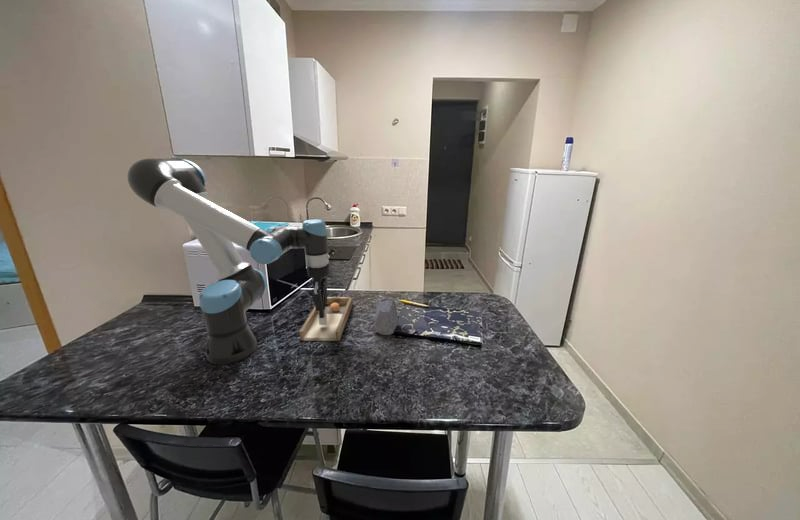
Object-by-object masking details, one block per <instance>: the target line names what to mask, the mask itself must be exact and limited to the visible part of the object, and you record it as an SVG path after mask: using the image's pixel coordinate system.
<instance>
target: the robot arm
mask: <svg viewBox="0 0 800 520" xmlns="http://www.w3.org/2000/svg"><path fill="white" fill-rule="evenodd" d="M127 182H128V185H129V187H130V189H131V190H132V192H133V193H134V194H135V195H136V196H137V197H138V198H139V199H141V200H143V201H144V202H145V203H148V204H150V205H151V206H153V207H156V208H157V209H159V210H166V209H167V210H169V211H171V212H173V213H175V214H177V215H179V216H180V217H183V219H184V221H185V222H186V224H187V225H188V227H189V228H190V230H191V231H192V233H193V235H194V236H195V238H196V239H197V241H198V243H199V244H200V246H202V249H203V250H204V252H205V253H206V255H207V256H208V258H209V260H210V261H211V262H212V265H213V266H214V267H215V269H216V270H217V272H218V275H217V281H216V282H212V283H210V284H208V285H207V286H205V287H204V288H203V289H201V290H200V292H199V296H198V297H199V298H198V301H199V307H200V309H201V314H202V317H203V322H204V325H205V329H206V334H207V340H206V345H205V350H204V351H205V353H204V354H205V356H206V360H207V362H209V363H210V364H213V365H221V366H222V365H229V364H233V363H236V362H240V361H241V360H244V359H245V358H247V357H249V356H250V355H252V354H253V353H254V352H255V351H256V350H257V348H258V342H257V338H256V335H254V333H253V331H252V329H251V328H250V327H249V325H248V321H247V315H246V312H247V311H248V310H249V309H251V307H252V306H253V305H254V304H255V303H256V302H258V301H259V300H261V298H262V297H263V295H264V294H265V293H266V291H267V287H268V281H267V277H266V276H265V275H264V273H263V272H262V271H261V270H260V269H259V270H258V269H257V268H253V266H252V265H251V263H250V262H247V261H244V260H243V258H242V256H241V255H240V253H239V251H238V250H237V249H236V247H235V245H236V246H239V247H240V248H243V249H245V250H247V251H248V252H249V254H250V257H251V258H252V259H253V260H254V262H256V263H258V264H260V265H268V264H271V263H273V262H275V261H277V260H278V259H279V258H280V257H281V256H282V255H284V254H285V253H287V252H288V251H289V250H291V249H304V251H305V260H306V261H305V262H306V265H307V266H306V271H307V276H308V277H309V278H311V279H313V281H312V287H313V288H312V289H311V294H312V296H313V301H314V307H315V308H316V309H315V310H316V311H318V316H319V325H327V311H326V307H328V304H326V303H327V297H328V276H329V275H330V271H331V270H330V264H329V262H330V261H329V259H330V258H331V256H330V254H329V250H328V232H327V227H326V221H324V220H322V219H315V218H313V219H306V220H304V221H303V222H302V224H301V225H300V226H299V225H298V226H297V225H295V226H292V225H291V226H289V225H288V226H287V225H285V226H284V225H277V226H269V227H268V228H267V231H266V230H265V229H262V228H260V226H259V227H258V226H257V225H255V224H253V223H251V222H250V221H247V220H246V219H244V218H242V217H240V216H238V215H236V214H234V213H233V212H230V211H229V210H226V209H225V208H223V207H221V206H219V205H218V204H215V203H214V202H212V201H210V200H208V199H207V196H208V193H209V192H208V191H207V190H206V188H205V187H206V182H207V179H206V175H205V173H204V171H203V170H202V169H201V167H200V166H198V165H197V164H196V163H194V162H193V161H191V160H188V159H184V158H179V157H171V158H144V159H140V160H138V161H136V162H135V163H133V164H132V165H131V166H130V167H129V169H128V173H127ZM234 244H235V245H234Z"/></svg>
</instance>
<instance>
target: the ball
mask: <svg viewBox="0 0 800 520" xmlns="http://www.w3.org/2000/svg"><path fill="white" fill-rule="evenodd" d="M339 309H340V306H339V304H338V303H332V304H331V305H330V310H331V311H332V312H338V311H339Z"/></svg>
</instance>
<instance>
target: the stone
mask: <svg viewBox="0 0 800 520" xmlns="http://www.w3.org/2000/svg"><path fill="white" fill-rule="evenodd" d="M397 311H398V310H397V305H396V302H395V301H394V299H392V298H387V299H386V298H385V299H381V300H379V301H377V302H376V308H375V316H374V325H373V328H374V332H375V333H377V334H379V335H382V336H391V335H392V334H394V333H395V331H396V329H397V327H398V325H399V317H398V312H397ZM396 326H397V327H396ZM394 330H395V331H394Z"/></svg>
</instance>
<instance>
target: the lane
mask: <svg viewBox="0 0 800 520" xmlns="http://www.w3.org/2000/svg"><path fill="white" fill-rule="evenodd" d="M332 303H338V304H339V306H340V309H339V311H338V312H332V311H331V310H330V305H331V304H332ZM326 304H328V307H326V311H327V325H319V316H318V311H316V310H315V309H316V308H315V306H314V307H313V309H312V310H311V312H310V313H309V315H308V317H307V318H306V320H305V321H304V323H303V325H302V327H301V328H300V330H299V331H298V334H299V340H300V342H301V341H303V342H304V341H307V342H308V341H309V342H310V341H311V342H312V341H313V342H314V341H316V342H318V341H319V342H320V341H324V342H330V341H331V342H332V341H333V342H335V341H336V342H340V341H341V339H342V336H343V333H344V330H345V327H346V325H347V321H348V319H349V316H350V314H351V311H352V308H353V305H354V303H353V296H327V303H326Z"/></svg>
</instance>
